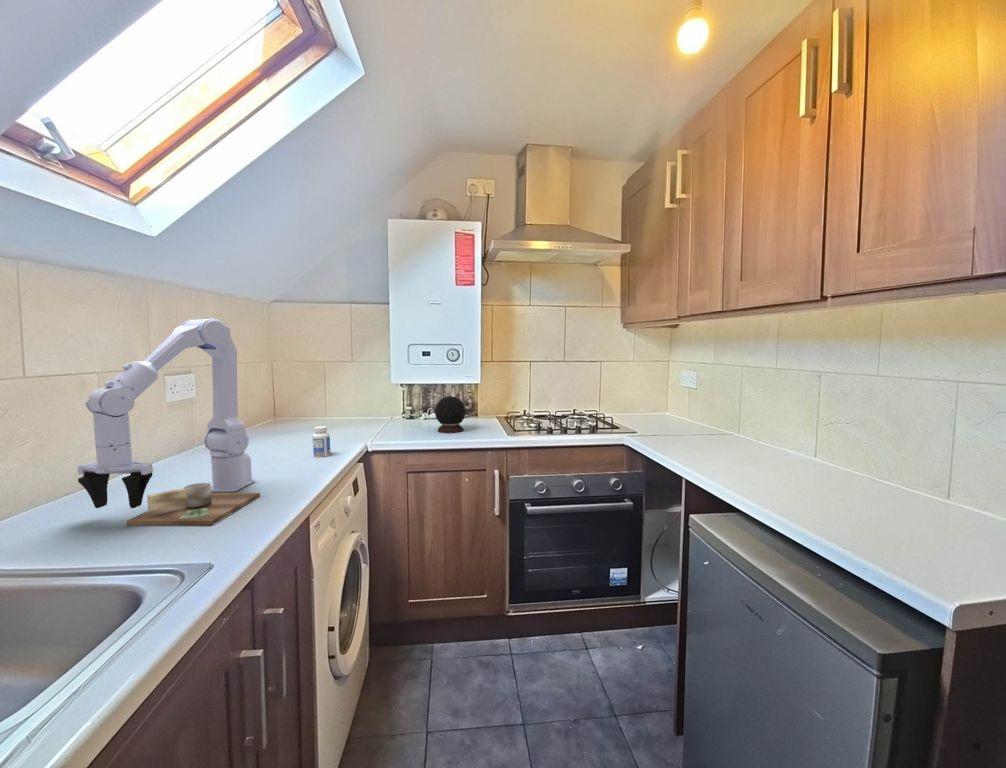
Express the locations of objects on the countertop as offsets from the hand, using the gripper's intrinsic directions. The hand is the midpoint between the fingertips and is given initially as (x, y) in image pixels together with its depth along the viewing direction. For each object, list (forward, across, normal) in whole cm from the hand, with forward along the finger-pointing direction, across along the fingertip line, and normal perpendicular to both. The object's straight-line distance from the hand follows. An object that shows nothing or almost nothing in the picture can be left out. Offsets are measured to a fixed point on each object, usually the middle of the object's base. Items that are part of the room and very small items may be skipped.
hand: (118, 506), depth 98 cm
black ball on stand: (+3, +58, +101) cm, 117 cm away
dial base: (+3, +13, +6) cm, 15 cm away
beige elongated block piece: (+1, +11, +4) cm, 12 cm away
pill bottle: (+3, +20, +57) cm, 61 cm away
